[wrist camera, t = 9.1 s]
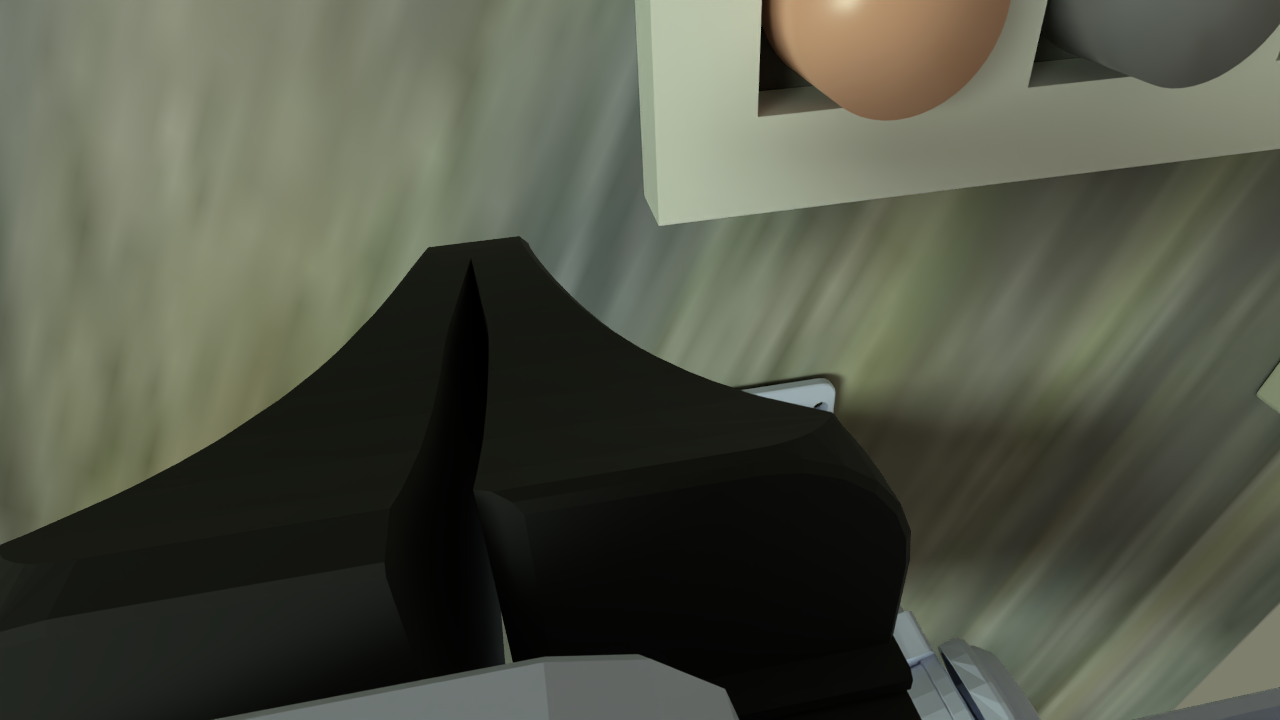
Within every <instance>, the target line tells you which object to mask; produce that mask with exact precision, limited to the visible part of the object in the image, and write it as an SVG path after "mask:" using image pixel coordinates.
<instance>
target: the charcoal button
mask: <svg viewBox="0 0 1280 720" xmlns="http://www.w3.org/2000/svg"><path fill="white" fill-rule="evenodd" d="M1279 24H1280V0H1048V1H1047V5H1046V9H1045V14H1044V18H1043V23H1042V27H1041V29H1042V31H1043V33H1044V34H1045V36H1046V37H1047V38H1048V39H1049V40H1050V41H1051V42H1052V43H1053V44H1054V45H1056V46H1057V47H1058V48H1060V49H1062V50H1064V51H1066V52H1069V53H1071V54H1074V55H1076V56H1079V57H1082V58H1084V59H1087V60H1089V61H1092V62H1095V63H1097V64H1100V65H1103V66H1105V67H1108V68H1110V69H1113V70H1116V71H1118V72H1121V73H1123V74H1126V75H1129V76H1131V77H1134V78H1136V79H1139V80H1142V81H1144V82H1147V83H1149V84H1152V85H1155V86H1159V87H1163V88H1171V89H1174V88H1186V87H1192V86H1196V85H1199V84H1202V83H1205V82H1208V81H1210V80H1212V79H1215V78H1217V77H1219V76H1221V75H1223V74H1224V73H1226V72H1228V71H1230V70H1231V69H1233V68H1234V67H1235V66H1237V65H1238V64H1240V63H1241V62H1243V61H1244V60H1245V59H1246V58H1248V57H1249V56H1250V55H1251V54H1252V53H1254V52H1255V51H1256V50H1257V49H1258V48H1259V47H1260V46H1261V45H1262V44H1263V43H1264V42H1265V41H1266V40H1267V39H1268V38H1269V36H1270V35H1271V34H1272V33H1273V32H1274V31H1275V30H1276V28H1277V27H1278V26H1279Z"/></svg>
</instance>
